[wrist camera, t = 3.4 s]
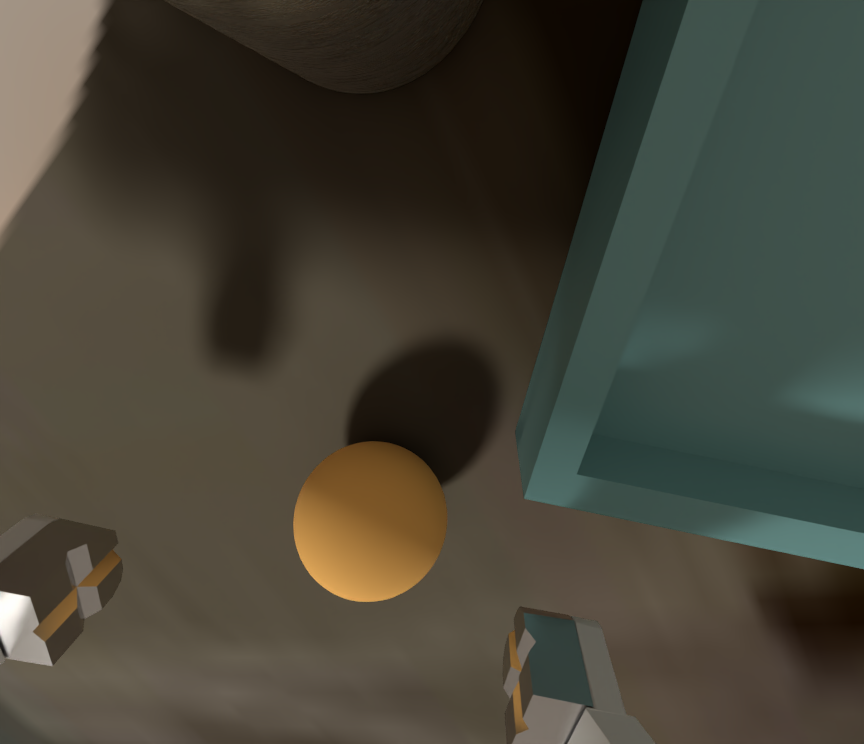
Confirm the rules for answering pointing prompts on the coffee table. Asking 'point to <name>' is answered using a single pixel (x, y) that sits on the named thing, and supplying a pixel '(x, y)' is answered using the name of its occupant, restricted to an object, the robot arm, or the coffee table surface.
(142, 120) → the coffee table surface
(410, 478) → the ball
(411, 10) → the cup
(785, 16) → the tray
